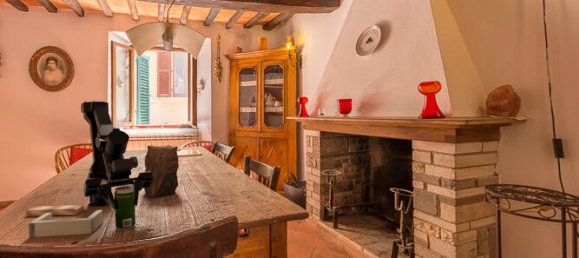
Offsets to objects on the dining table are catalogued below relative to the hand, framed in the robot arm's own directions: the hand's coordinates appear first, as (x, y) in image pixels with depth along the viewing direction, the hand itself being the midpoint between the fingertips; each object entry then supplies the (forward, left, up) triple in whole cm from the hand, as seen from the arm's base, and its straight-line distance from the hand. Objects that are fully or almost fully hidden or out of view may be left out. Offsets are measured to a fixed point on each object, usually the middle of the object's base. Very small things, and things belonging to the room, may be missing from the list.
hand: (126, 206), depth 96 cm
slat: (+32, -12, -7) cm, 35 cm away
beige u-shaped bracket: (+17, +1, -7) cm, 18 cm away
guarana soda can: (+1, -1, -7) cm, 7 cm away
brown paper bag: (+9, -38, -7) cm, 40 cm away
